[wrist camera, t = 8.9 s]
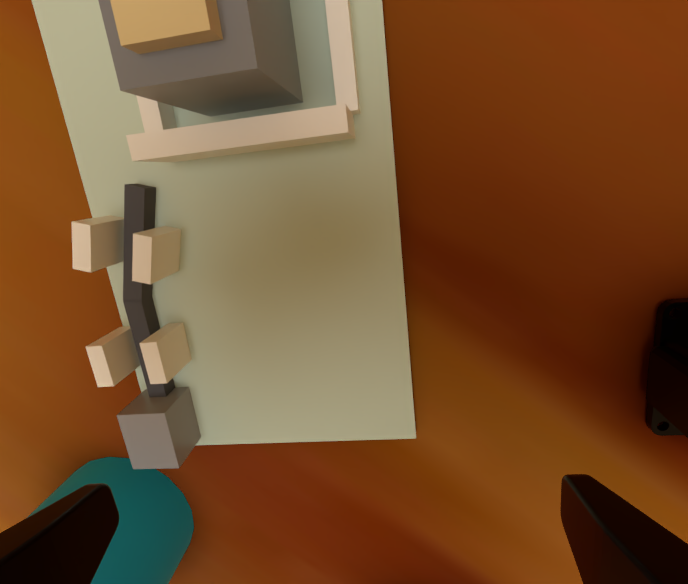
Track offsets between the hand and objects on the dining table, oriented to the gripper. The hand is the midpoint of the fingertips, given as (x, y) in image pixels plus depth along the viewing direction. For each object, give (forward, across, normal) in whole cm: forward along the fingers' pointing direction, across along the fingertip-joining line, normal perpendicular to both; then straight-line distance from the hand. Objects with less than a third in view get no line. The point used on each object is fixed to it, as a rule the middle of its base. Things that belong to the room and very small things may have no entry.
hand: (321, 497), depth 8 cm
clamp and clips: (+11, +10, +1) cm, 15 cm away
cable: (+11, +10, -2) cm, 15 cm away
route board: (+12, +5, -4) cm, 14 cm away
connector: (+11, +3, -11) cm, 16 cm away
